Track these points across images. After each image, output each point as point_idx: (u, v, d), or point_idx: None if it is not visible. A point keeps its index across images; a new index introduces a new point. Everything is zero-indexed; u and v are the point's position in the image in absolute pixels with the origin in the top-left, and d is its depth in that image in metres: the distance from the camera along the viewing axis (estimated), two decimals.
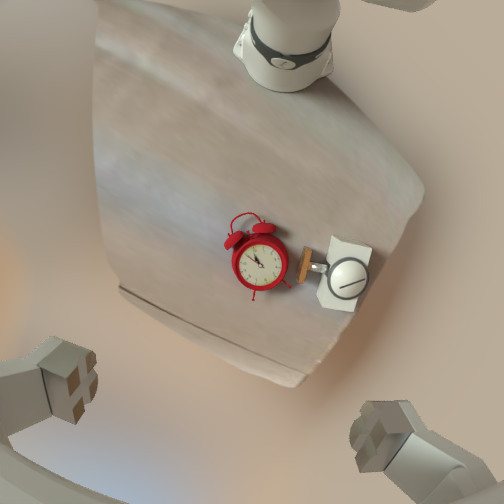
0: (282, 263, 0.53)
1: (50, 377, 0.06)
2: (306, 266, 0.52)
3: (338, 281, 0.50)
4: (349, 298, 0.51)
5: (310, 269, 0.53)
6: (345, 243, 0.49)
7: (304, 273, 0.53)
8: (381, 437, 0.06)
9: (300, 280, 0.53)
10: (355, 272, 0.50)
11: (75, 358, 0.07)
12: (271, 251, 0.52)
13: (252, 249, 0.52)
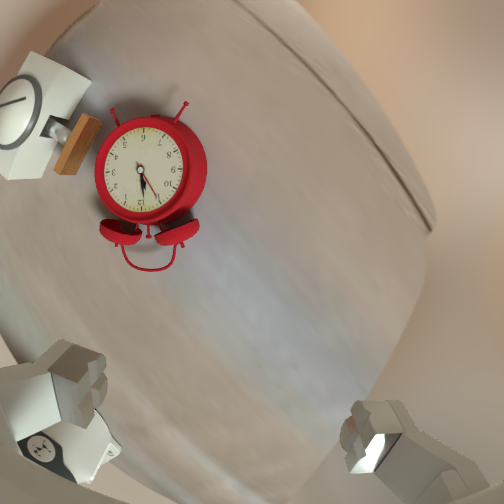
0: (104, 160, 0.24)
1: (60, 382, 0.06)
2: (68, 144, 0.23)
3: (23, 110, 0.19)
4: (22, 76, 0.18)
5: (69, 135, 0.23)
6: (3, 173, 0.21)
7: (74, 132, 0.22)
8: (370, 437, 0.06)
9: (84, 119, 0.22)
10: (1, 121, 0.19)
11: (85, 362, 0.07)
12: (114, 189, 0.24)
13: (144, 206, 0.25)
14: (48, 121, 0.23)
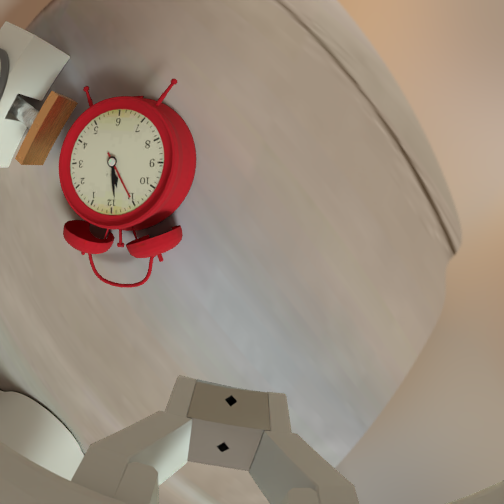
0: (71, 149, 0.18)
1: (202, 426, 0.06)
2: (32, 128, 0.17)
3: None
4: None
5: (36, 117, 0.17)
6: None
7: (41, 113, 0.17)
8: (227, 428, 0.06)
9: (53, 98, 0.16)
10: None
11: (223, 399, 0.07)
12: (81, 184, 0.19)
13: (114, 207, 0.19)
14: (16, 101, 0.17)
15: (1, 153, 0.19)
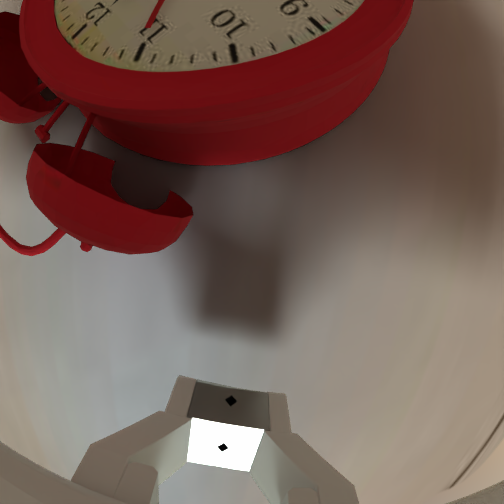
0: None
1: (203, 426, 0.06)
2: None
3: None
4: None
5: None
6: None
7: None
8: (227, 428, 0.06)
9: None
10: None
11: (223, 399, 0.07)
12: None
13: (91, 29, 0.04)
14: None
15: None
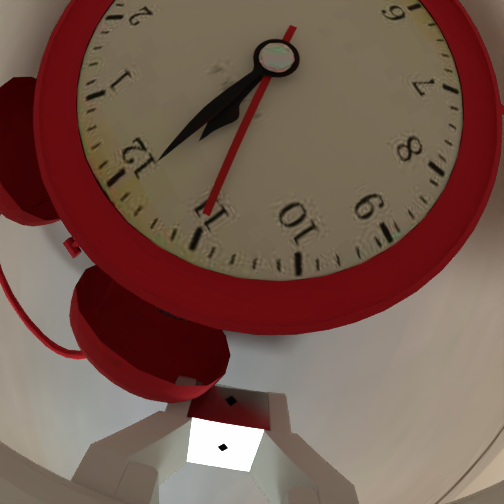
0: None
1: (203, 426, 0.06)
2: None
3: None
4: None
5: None
6: None
7: None
8: (227, 428, 0.06)
9: None
10: None
11: (223, 399, 0.07)
12: (125, 21, 0.04)
13: (132, 182, 0.05)
14: None
15: None
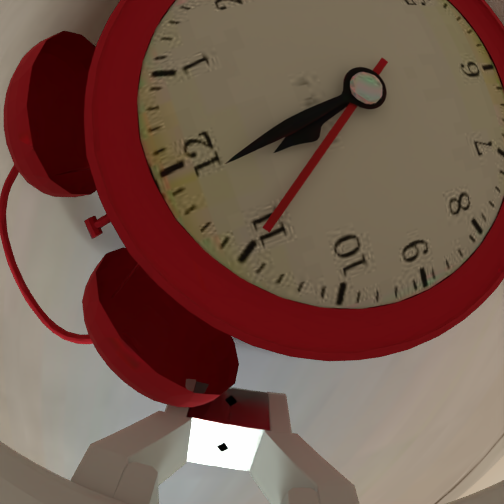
0: None
1: (202, 426, 0.06)
2: None
3: None
4: None
5: None
6: None
7: None
8: (227, 428, 0.06)
9: None
10: None
11: (223, 399, 0.07)
12: (210, 2, 0.04)
13: (190, 178, 0.05)
14: None
15: None
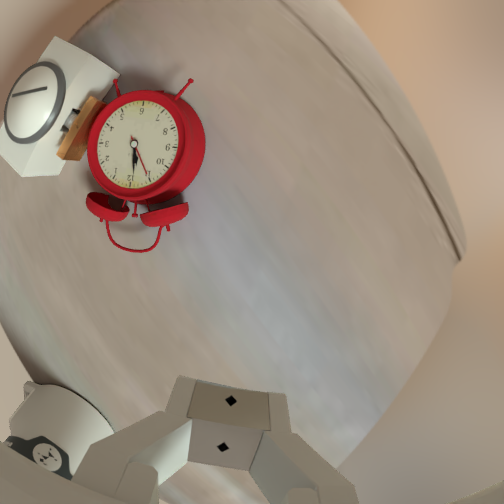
0: (99, 131, 0.22)
1: (203, 426, 0.06)
2: (73, 128, 0.21)
3: (43, 101, 0.18)
4: (43, 63, 0.17)
5: (74, 118, 0.22)
6: (17, 169, 0.20)
7: (81, 115, 0.21)
8: (227, 428, 0.06)
9: (92, 102, 0.21)
10: (17, 112, 0.18)
11: (223, 399, 0.07)
12: (105, 161, 0.22)
13: (133, 182, 0.23)
14: None
15: (53, 162, 0.24)
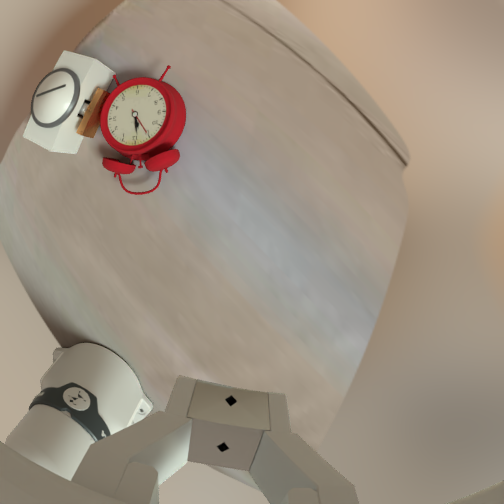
0: (108, 111, 0.30)
1: (203, 426, 0.06)
2: (87, 112, 0.29)
3: (64, 95, 0.26)
4: (59, 69, 0.25)
5: (87, 106, 0.30)
6: (46, 147, 0.28)
7: (92, 102, 0.29)
8: (227, 428, 0.06)
9: (100, 92, 0.28)
10: (43, 106, 0.26)
11: (223, 399, 0.07)
12: (115, 130, 0.30)
13: (137, 140, 0.31)
14: None
15: (72, 142, 0.32)
